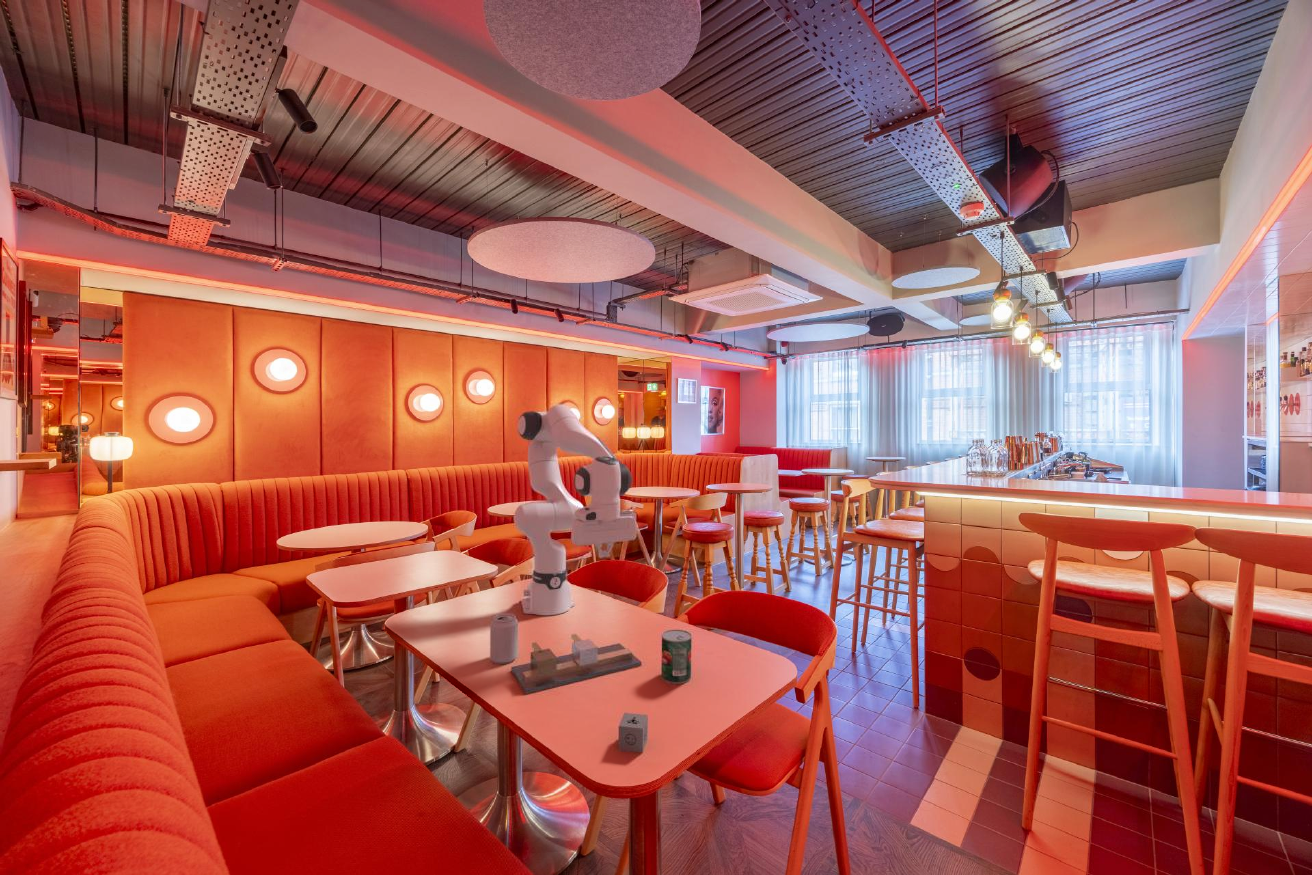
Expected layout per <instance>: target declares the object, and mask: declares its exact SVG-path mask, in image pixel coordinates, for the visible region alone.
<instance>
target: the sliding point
mask: <svg viewBox="0 0 1312 875" xmlns="http://www.w3.org/2000/svg"><path fill="white" fill-rule="evenodd" d="M570 637H571V640H572V641H573V642H571V654H572V658H573V659H574V660H575V661H576V662H577V663H578V665H579V666H583V665H587V664H591V663H596V662H598V648H599V647H598V645H596V643H594V642H593V641H592V640H591V639H590V638H588V639H582V638H581V637H580V636H578V634H576V633H571V636H570Z"/></svg>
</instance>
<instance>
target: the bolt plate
mask: <svg viewBox="0 0 1312 875" xmlns="http://www.w3.org/2000/svg"><path fill="white" fill-rule="evenodd" d="M531 648H532V649H533V651H530V662H527V663H524V664H519V665H515V666H511V667H510V669H511V673H512V675H513V676H514V677H515V679H516V681H517V683H518V684H519V686H520V688H521V690H522V691H523V693H524V694H525V695H529V694H532V693H536V692H540V691H544V690H549V689H553V688H557V687H560V686H565V685H568V684H573V683H577V682H580V681H584V680H589V679H592V678H597V677H601V676H604V675H605V676H606V675H609V674H613V673H616V672H621V671H625V670H629V669H634V668H636V667H637V668H638V667H641V666H642V664H643V663H642V661H641V659H639V658H638V657H637V656H635V655H634V654H633V651H632V650H631V649H629V648H625V647H624V646H623V645H622V644H621V643H615V644H611V645H606V646H602V647H601V646H600V647H598V662H596V663H591V664H587V665H583V666H579V665H578V663H577V662H576V661H575V660H574V659H573V658H572V653H569V654H565V655H559V656H557V655H556V654H554V652H553V651H552V650H551V649H550V648H545V649H542V648H541V647H540V645H539V644H538V643H537V642H531Z"/></svg>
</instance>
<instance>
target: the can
mask: <svg viewBox="0 0 1312 875" xmlns="http://www.w3.org/2000/svg"><path fill="white" fill-rule="evenodd" d="M489 628H490V629H489V630H490V632H489V633H490V635H489V636H490V637H489V638H490V639H489V640H490V642H489V643H490V644H489V647H490V648H489V655H490V656H489V658H490V660H491V661H492V662H493V663H495V664H498V665H500V664H501V665H504V664H509V663H511V662H513V661H515V659H517V658H518V655H519V621H518V619H517V616H516V615H515V614H513V613H500V614H497V615H495V616H493V617H492V621H491V622H490V626H489Z"/></svg>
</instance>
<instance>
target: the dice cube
mask: <svg viewBox="0 0 1312 875" xmlns="http://www.w3.org/2000/svg"><path fill="white" fill-rule="evenodd" d="M648 717H649V715H648V714H641V713H639V714H638V713H633V712H632V713H631V712H624V713H623V714H622V717H621V720H620V722H619V724H618V747H617V748H618V751H621V752H622V751H623V752H631V753H637V754H639V753H640V754H644V750H645V748H646V744H647V741H648V735H649V734H648V730H649V728H648V727H649V726H648V725H649V724H648V722H649V721H648V719H649V718H648Z"/></svg>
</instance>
